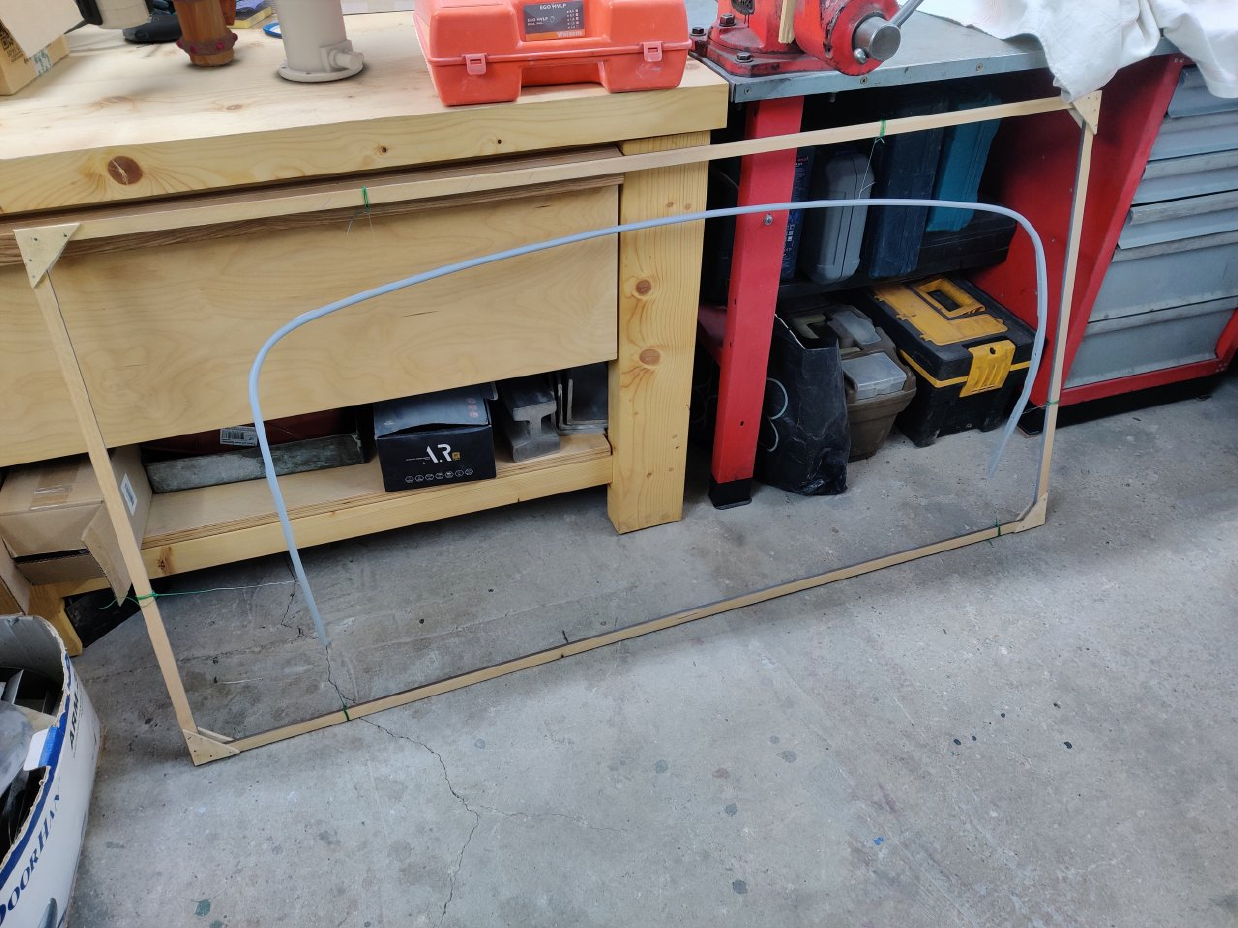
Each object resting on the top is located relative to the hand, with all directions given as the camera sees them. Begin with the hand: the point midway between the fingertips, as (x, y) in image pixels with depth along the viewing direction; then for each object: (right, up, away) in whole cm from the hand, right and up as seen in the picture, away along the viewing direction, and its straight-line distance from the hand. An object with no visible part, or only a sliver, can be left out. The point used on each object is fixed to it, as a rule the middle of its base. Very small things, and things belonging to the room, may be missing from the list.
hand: (121, 16), depth 123 cm
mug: (+5, +3, +20) cm, 21 cm away
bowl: (0, -1, +1) cm, 1 cm away
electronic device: (-9, +12, +31) cm, 34 cm away
